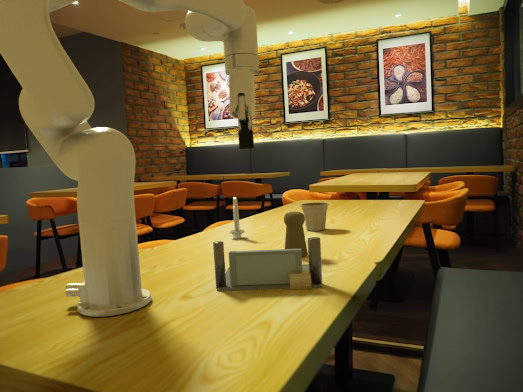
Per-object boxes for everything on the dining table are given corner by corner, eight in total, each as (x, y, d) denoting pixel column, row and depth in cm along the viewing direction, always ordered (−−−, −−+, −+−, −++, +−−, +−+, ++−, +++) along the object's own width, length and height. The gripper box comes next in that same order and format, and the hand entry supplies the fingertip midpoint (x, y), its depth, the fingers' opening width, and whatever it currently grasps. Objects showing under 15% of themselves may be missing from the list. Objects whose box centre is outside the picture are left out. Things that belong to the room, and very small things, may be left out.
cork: (306, 258, 102) (304, 213, 101) (282, 258, 103) (279, 214, 102) (309, 252, 108) (307, 210, 107) (285, 252, 109) (283, 210, 108)
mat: (217, 290, 81) (216, 289, 81) (228, 268, 97) (228, 267, 97) (321, 287, 80) (321, 285, 80) (316, 265, 96) (316, 263, 95)
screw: (245, 236, 135) (244, 239, 130) (230, 237, 135) (229, 240, 130) (243, 195, 134) (242, 197, 129) (227, 196, 134) (226, 198, 129)
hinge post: (215, 289, 82) (212, 243, 81) (217, 286, 84) (214, 241, 83) (225, 288, 82) (222, 243, 81) (227, 285, 84) (224, 241, 83)
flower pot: (297, 229, 143) (295, 203, 142) (322, 226, 146) (321, 201, 145) (308, 233, 134) (307, 206, 133) (335, 230, 137) (334, 203, 136)
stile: (290, 289, 79) (287, 242, 78) (290, 283, 83) (287, 238, 82) (323, 288, 79) (321, 241, 78) (321, 282, 83) (319, 236, 82)
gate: (230, 285, 82) (228, 252, 81) (231, 283, 84) (229, 251, 83) (302, 283, 81) (301, 250, 80) (302, 281, 82) (301, 248, 82)
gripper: (229, 73, 102) (234, 150, 104) (219, 59, 87) (225, 149, 89) (260, 71, 101) (265, 148, 103) (255, 57, 87) (260, 147, 88)
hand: (246, 148), depth 96 cm, fingers closed
